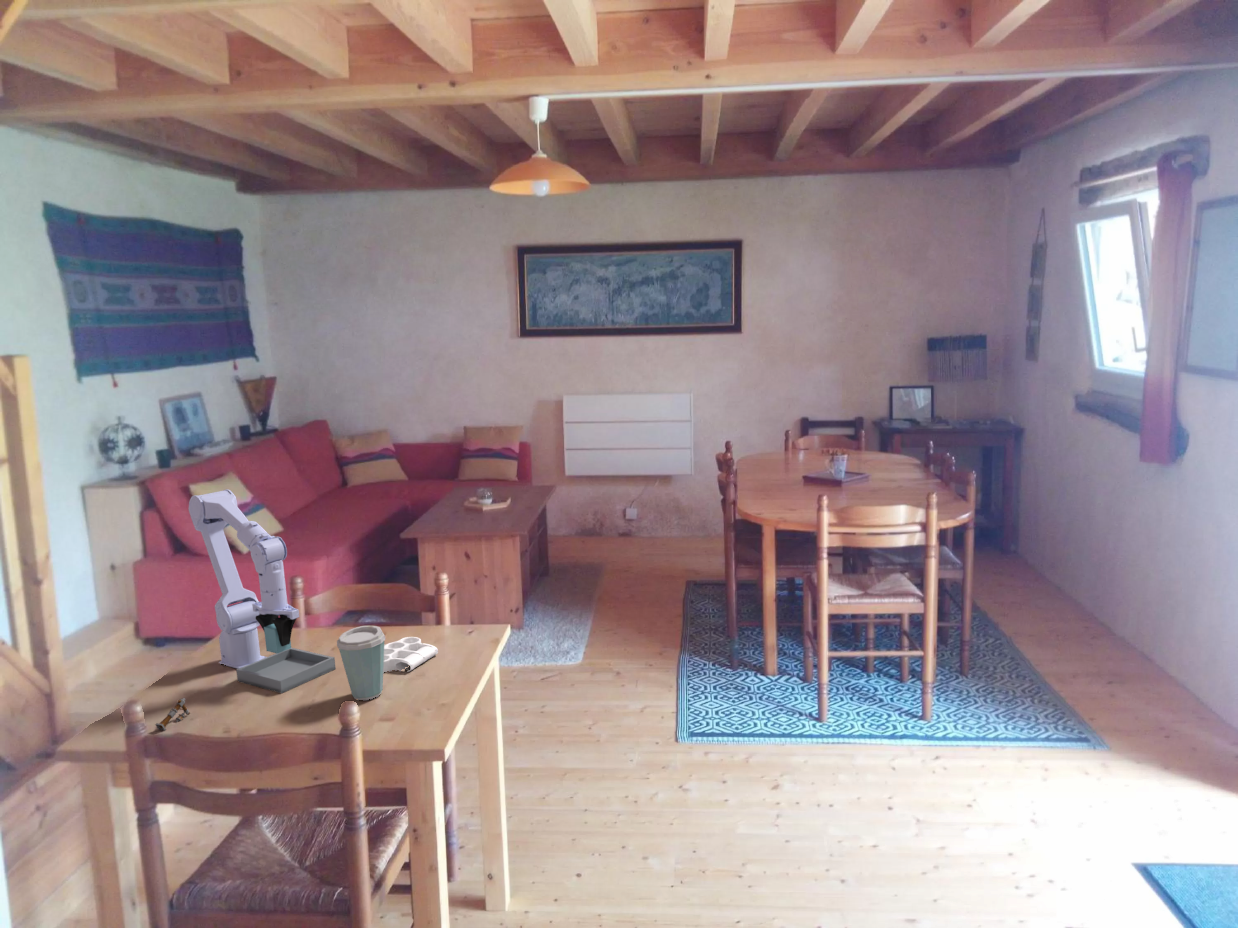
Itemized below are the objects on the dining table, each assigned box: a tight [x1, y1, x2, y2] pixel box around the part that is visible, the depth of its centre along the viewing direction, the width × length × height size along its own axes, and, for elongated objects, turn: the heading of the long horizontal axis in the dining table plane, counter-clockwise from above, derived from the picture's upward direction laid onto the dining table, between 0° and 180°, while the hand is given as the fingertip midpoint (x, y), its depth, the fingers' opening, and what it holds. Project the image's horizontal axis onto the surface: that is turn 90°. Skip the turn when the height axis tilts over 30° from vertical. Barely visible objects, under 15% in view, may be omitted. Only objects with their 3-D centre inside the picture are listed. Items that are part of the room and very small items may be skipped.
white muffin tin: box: [383, 636, 439, 674], centre depth 230 cm, size 3×18×15 cm
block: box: [263, 624, 292, 654], centre depth 222 cm, size 4×4×6 cm
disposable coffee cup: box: [336, 625, 387, 701], centre depth 209 cm, size 11×11×15 cm
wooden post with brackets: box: [154, 697, 191, 731], centre depth 200 cm, size 2×8×4 cm, turn 160°
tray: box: [236, 647, 337, 694], centre depth 224 cm, size 16×16×3 cm
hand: (279, 643), depth 222 cm, fingers closed on block, 4 cm apart
